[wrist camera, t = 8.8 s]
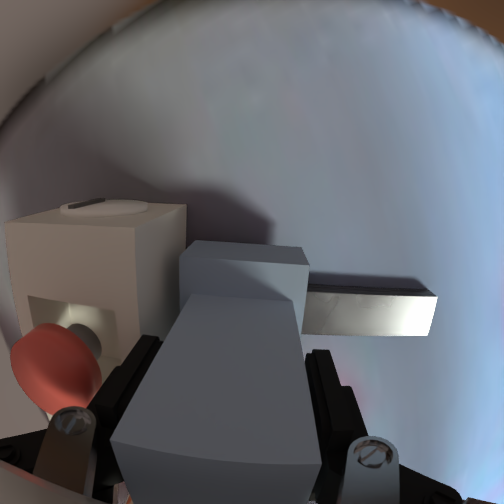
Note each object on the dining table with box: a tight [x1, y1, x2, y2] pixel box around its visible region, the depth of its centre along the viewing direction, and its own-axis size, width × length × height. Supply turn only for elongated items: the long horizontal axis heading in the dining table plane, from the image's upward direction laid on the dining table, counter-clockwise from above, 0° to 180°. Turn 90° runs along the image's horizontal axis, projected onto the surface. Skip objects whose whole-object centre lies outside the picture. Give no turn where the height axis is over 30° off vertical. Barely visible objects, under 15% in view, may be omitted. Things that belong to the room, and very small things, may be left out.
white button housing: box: [5, 198, 187, 421], centre depth 14 cm, size 6×10×7 cm, turn 176°
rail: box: [301, 284, 437, 336], centre depth 17 cm, size 14×2×1 cm, turn 86°
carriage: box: [110, 240, 322, 504], centre depth 11 cm, size 5×7×11 cm
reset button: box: [10, 323, 102, 415], centre depth 10 cm, size 3×3×3 cm
